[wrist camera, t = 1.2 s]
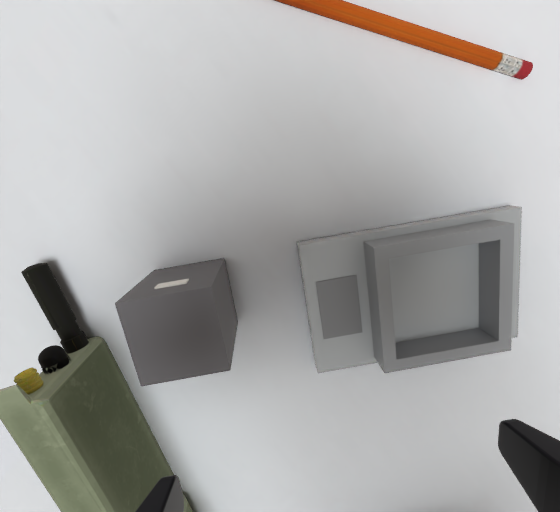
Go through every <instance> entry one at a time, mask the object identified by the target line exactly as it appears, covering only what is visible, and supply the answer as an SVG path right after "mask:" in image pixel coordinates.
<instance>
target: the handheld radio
mask: <svg viewBox="0 0 560 512" xmlns="http://www.w3.org/2000/svg"><path fill="white" fill-rule="evenodd" d="M22 274H23V276H24V278H25V280H26V281H27V283H28V285H29V287H30V289H31V290H32V292H33V294H34V296H35V298H36V299H37V301H38V303H39V305H40V307H41V308H42V310H43V312H44V314H45V316H46V317H47V319H48V321H49V323H50V325H51V326H52V328H53V330H56V331H57V333H58V335H59V337H60V339H61V342H60V343H61V344H62V346H63V348H64V349H63V348H62V347H60V346H50V347H47V348H45V349H44V350H43V351H42V352H41V353H40V355H39V358H38V361H39V363H40V365H41V368H42V370H43V372H42V373H41V374H40V375H39V373H36V372H37V370H36V369H34V368H29V369H27V370H25V371H23V372H21V373H19V374H18V375H17V376H15V379H14V382H15V383H17V384H16V385H14V386H10V387H7V388H4V389H1V390H0V419H1V421H2V422H3V424H4V425H5V427H6V428H7V430H8V431H9V433H10V434H11V436H12V437H13V439H14V441H15V442H16V444H17V445H18V447H19V448H20V450H21V451H22V453H23V454H24V456H25V457H26V459H27V460H28V462H29V463H30V465H31V466H32V468H33V469H34V471H35V472H36V474H37V476H38V477H39V479H40V480H41V482H42V483H43V485H44V486H45V488H46V489H47V491H48V492H49V494H50V495H51V497H52V498H53V500H54V501H55V503H56V504H57V506H58V507H59V509H60V511H61V512H135V511H136V510H137V509H138V507H139V506H140V505H141V503H142V502H143V501H144V499H145V498H146V497H147V495H148V494H149V493H150V491H151V490H152V489H153V487H154V486H155V485H156V483H157V482H158V481H159V480H160V479H161V478H162V477H165V476H171V475H174V474H173V473H172V471H171V469H170V467H169V465H168V463H167V461H166V459H165V457H164V455H163V453H162V451H161V449H160V447H159V445H158V443H157V441H156V439H155V437H154V435H153V433H152V432H151V430H150V428H149V426H148V424H147V422H146V420H145V418H144V416H143V414H142V412H141V410H140V408H139V406H138V404H137V402H136V400H135V398H134V396H133V394H132V393H131V391H130V389H129V387H128V385H127V383H126V381H125V379H124V377H123V375H122V373H121V371H120V369H119V367H118V365H117V363H116V361H115V359H114V357H113V355H112V354H111V352H110V350H109V348H108V346H107V344H106V342H105V341H104V340H103V339H102V338H101V337H93V338H90V339H87V338H86V336H85V334H84V332H83V331H81V330H80V328H79V327H78V325H77V323H76V321H75V320H76V318H75V316H74V314H73V312H72V310H71V308H70V306H69V304H68V303H67V301H66V299H65V297H64V295H63V293H62V291H61V289H60V287H59V285H58V283H57V281H56V279H55V277H54V276H53V274H52V272H51V270H50V268H49V266H48V264H47V263H39V264H35V265H33V266H30V267H27V268H26V269H25V270H24V271H22ZM182 493H183V492H182ZM183 497H184V512H193V511H192V509H191V507H190V505H189V503H188V501H187V499H186V497H185V496H184V494H183Z"/></svg>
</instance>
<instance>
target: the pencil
mask: <svg viewBox="0 0 560 512" xmlns="http://www.w3.org/2000/svg"><path fill="white" fill-rule="evenodd" d="M275 1H278V2H281V3H284V4H288V5H291V6H294V7H297V8H300V9H303V10H306V11H309V12H313V13H316V14H319V15H322V16H325V17H328V18H331V19H334V20H338V21H341V22H344V23H347V24H350V25H353V26H356V27H359V28H362V29H366V30H369V31H372V32H375V33H378V34H381V35H384V36H387V37H391V38H394V39H397V40H400V41H403V42H406V43H409V44H412V45H416V46H419V47H422V48H425V49H428V50H431V51H434V52H437V53H441V54H444V55H447V56H450V57H453V58H456V59H459V60H462V61H466V62H469V63H472V64H475V65H478V66H481V67H484V68H487V69H490V70H494V71H497V72H500V73H503V74H506V75H509V76H512V77H515V78H519V79H524V78H525V77H527V76H528V75H529V74H530V72H531V70H532V68H533V64H532V63H531V62H528V61H525V60H522V59H519V58H516V57H513V56H510V55H507V54H504V53H501V52H498V51H495V50H492V49H489V48H486V47H483V46H479V45H476V44H473V43H470V42H467V41H464V40H461V39H458V38H455V37H452V36H449V35H446V34H443V33H440V32H437V31H434V30H431V29H428V28H425V27H422V26H419V25H416V24H412V23H409V22H406V21H403V20H400V19H397V18H394V17H391V16H388V15H385V14H382V13H379V12H376V11H373V10H370V9H367V8H364V7H361V6H358V5H355V4H352V3H349V2H346V1H342V0H275Z"/></svg>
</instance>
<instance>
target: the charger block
mask: <svg viewBox="0 0 560 512" xmlns="http://www.w3.org/2000/svg"><path fill="white" fill-rule="evenodd" d="M115 305H116V308H117V311H118V315H119V318H120V321H121V324H122V327H123V330H124V334H125V337H126V340H127V343H128V346H129V349H130V353H131V356H132V359H133V362H134V365H135V369H136V372H137V375H138V378H139V381H140V384H141V386H146V385H151V384H157V383H162V382H168V381H174V380H179V379H185V378H190V377H196V376H201V375H207V374H212V373H218V372H223V371H229V370H230V369H231V363H232V356H233V350H234V343H235V337H236V330H237V324H238V321H237V316H236V311H235V307H234V302H233V297H232V292H231V288H230V283H229V278H228V274H227V269H226V264H225V260H224V258H222V259H217V260H211V261H205V262H199V263H193V264H187V265H182V266H176V267H170V268H164V269H158V270H154V271H153V272H151V273H150V274H149V275H148V276H147V277H145V278H144V279H143V280H142V281H141V282H140V283H138V284H137V285H136V286H135V287H134V288H133V289H131V290H130V291H129V292H128V293H127V294H125V295H124V296H123V297H122V298H121V299H120V300H118V301H117V302H116V303H115Z"/></svg>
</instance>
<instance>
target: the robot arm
mask: <svg viewBox="0 0 560 512" xmlns="http://www.w3.org/2000/svg"><path fill="white" fill-rule="evenodd" d="M498 446H499V450H500V452H501V454H502V456H503V457H504V459H505V460H506V462H507V464H508V465H509V467H510V468H511V470H512V471H513V473H514V474H515V476H516V478H517V479H518V481H519V482H520V484H521V485H522V487H523V489H524V490H525V492H526V493H527V495H528V496H529V498H530V499H531V501H532V503H533V504H534V506H535V507H536V509H537V510H538V512H560V441H559V440H557V439H555V438H553V437H551V436H549V435H547V434H545V433H543V432H541V431H539V430H537V429H535V428H533V427H531V426H529V425H527V424H525V423H523V422H521V421H519V420H517V419H511V420H505V421H501V423H500V425H499V437H498ZM135 512H184V497H183V493H182V489H181V485H180V482H179V478H178V476H177V475H171V476H165V477H162V478H161V479H160V480H159V481H158V482H157V483H156V485H155V486H154V487H153V489H152V490H151V491H150V493H149V494H148V495H147V497H146V498H145V499H144V501H143V502H142V503H141V505H140V506H139V507H138V509H137V510H136V511H135Z"/></svg>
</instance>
